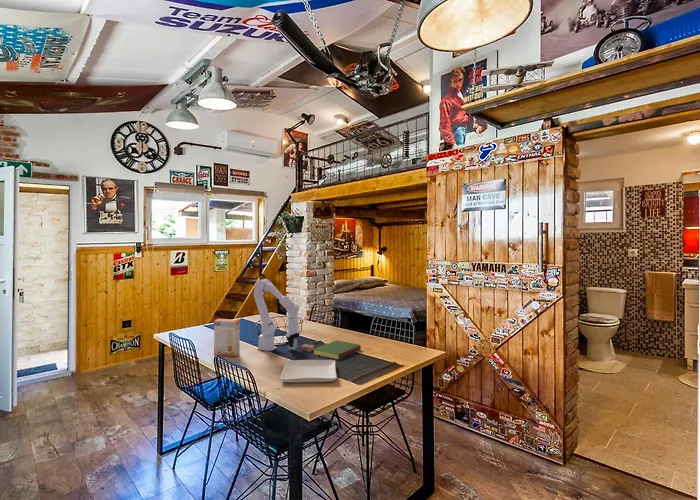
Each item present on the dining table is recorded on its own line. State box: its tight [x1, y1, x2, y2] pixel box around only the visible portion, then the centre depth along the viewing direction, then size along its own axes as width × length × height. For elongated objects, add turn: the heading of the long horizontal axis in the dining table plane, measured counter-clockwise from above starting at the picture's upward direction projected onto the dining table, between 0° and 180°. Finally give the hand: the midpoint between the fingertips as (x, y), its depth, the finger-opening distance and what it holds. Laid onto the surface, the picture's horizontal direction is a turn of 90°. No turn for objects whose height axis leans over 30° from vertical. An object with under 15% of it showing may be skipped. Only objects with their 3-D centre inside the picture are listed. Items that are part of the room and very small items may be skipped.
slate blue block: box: [287, 338, 298, 351], centre depth 236 cm, size 4×4×6 cm
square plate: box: [279, 359, 338, 383], centre depth 195 cm, size 27×27×4 cm
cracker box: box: [213, 318, 241, 358], centre depth 227 cm, size 14×6×21 cm, turn 74°
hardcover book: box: [313, 340, 362, 361], centre depth 235 cm, size 25×19×4 cm
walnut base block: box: [300, 343, 315, 353], centre depth 238 cm, size 6×6×3 cm
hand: (292, 345), depth 236 cm, fingers closed on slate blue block, 4 cm apart
